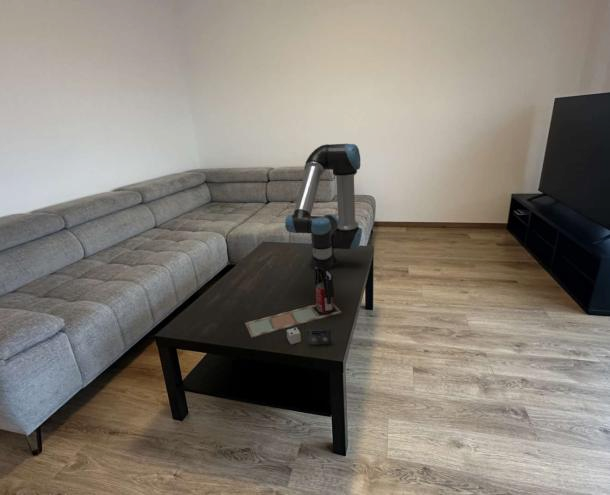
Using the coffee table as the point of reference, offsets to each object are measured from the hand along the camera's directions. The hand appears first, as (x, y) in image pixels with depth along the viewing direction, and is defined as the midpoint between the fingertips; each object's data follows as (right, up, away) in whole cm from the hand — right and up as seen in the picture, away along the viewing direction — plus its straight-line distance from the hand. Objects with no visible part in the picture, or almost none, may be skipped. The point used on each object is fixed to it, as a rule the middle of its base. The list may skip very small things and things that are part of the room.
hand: (324, 305), depth 150 cm
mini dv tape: (-3, -11, -20) cm, 23 cm away
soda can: (0, -2, +1) cm, 2 cm away
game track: (-13, -5, -4) cm, 14 cm away
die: (-13, -10, -18) cm, 24 cm away
